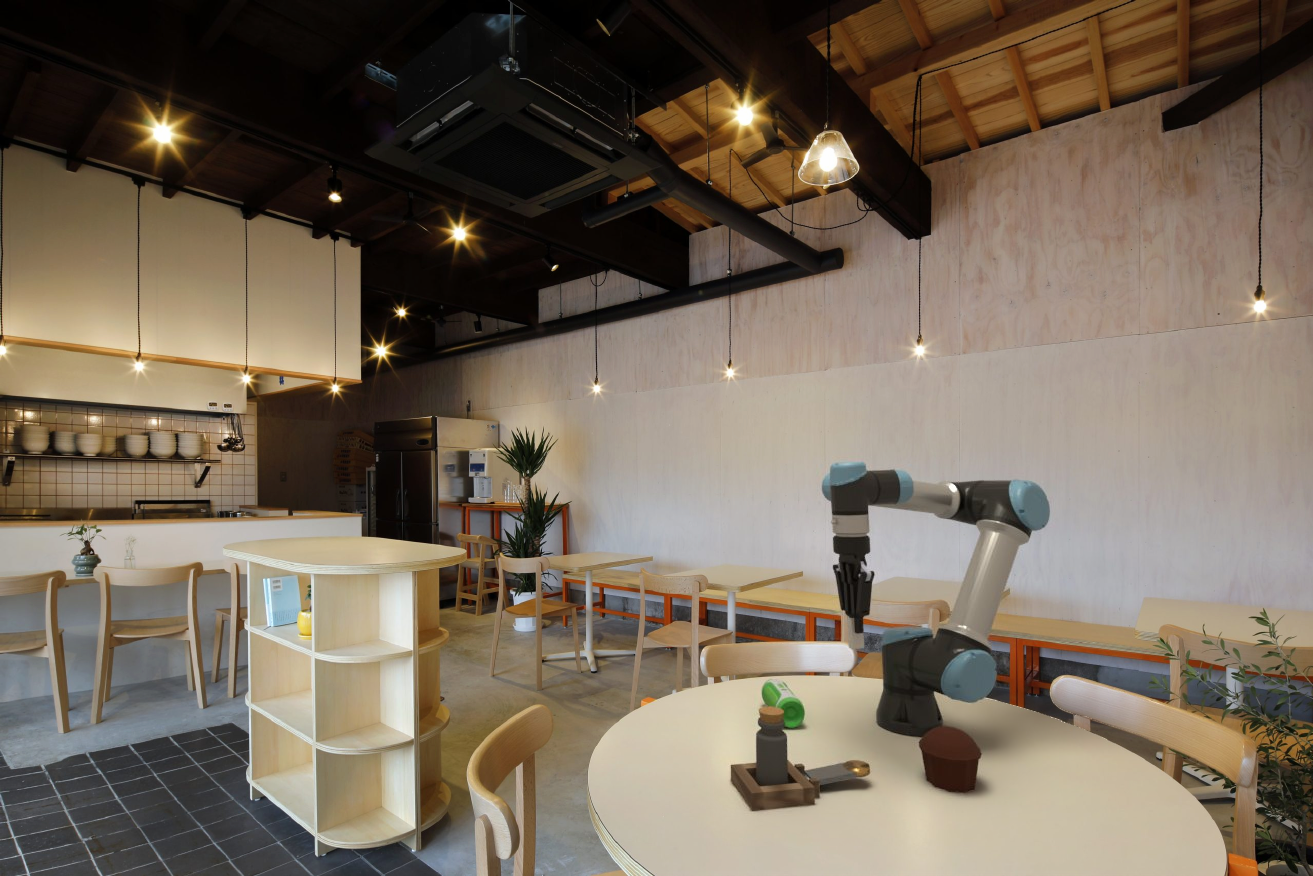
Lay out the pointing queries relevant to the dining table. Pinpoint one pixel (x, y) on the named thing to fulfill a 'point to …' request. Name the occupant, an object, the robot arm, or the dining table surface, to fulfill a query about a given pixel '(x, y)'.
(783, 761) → the bottle
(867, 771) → the bar
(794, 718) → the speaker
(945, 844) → the dining table surface
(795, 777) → the socket block
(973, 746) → the muffin
